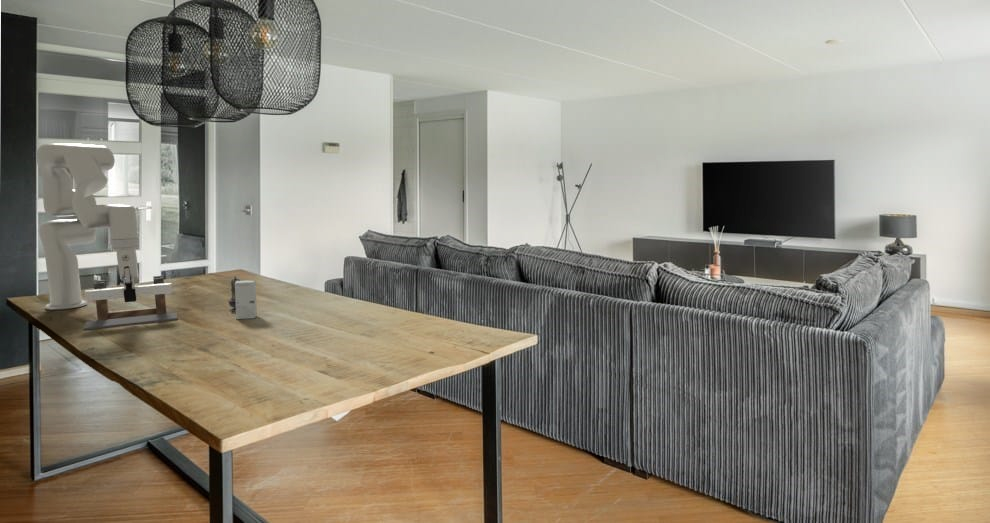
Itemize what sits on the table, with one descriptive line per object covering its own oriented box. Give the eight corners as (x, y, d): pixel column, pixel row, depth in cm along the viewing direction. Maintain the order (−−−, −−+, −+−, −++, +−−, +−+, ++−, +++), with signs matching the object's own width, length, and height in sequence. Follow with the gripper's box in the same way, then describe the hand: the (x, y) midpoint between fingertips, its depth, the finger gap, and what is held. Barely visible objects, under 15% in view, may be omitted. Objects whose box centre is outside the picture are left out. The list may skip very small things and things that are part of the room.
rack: (97, 321, 204) (93, 283, 202) (98, 317, 209) (95, 280, 207) (166, 313, 213) (163, 277, 212) (166, 310, 218) (163, 275, 217)
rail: (85, 301, 194) (84, 291, 194) (86, 299, 197) (85, 290, 196) (172, 293, 206) (171, 284, 205) (171, 291, 208) (171, 282, 208)
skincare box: (235, 319, 204) (233, 282, 202) (238, 316, 208) (235, 280, 206) (255, 318, 205) (253, 281, 203) (257, 315, 209) (255, 279, 208)
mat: (83, 330, 192) (83, 328, 192) (86, 323, 201) (86, 321, 201) (177, 319, 204) (177, 317, 204) (176, 314, 213) (176, 312, 213)
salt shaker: (242, 311, 215) (239, 277, 214) (225, 312, 215) (222, 277, 214) (249, 308, 221) (247, 274, 219) (232, 308, 221) (230, 274, 220)
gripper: (138, 245, 194) (143, 303, 196) (138, 241, 208) (144, 295, 210) (109, 247, 190) (115, 306, 193) (112, 242, 204) (118, 298, 207)
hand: (130, 300), depth 201 cm, fingers closed on rail, 3 cm apart
